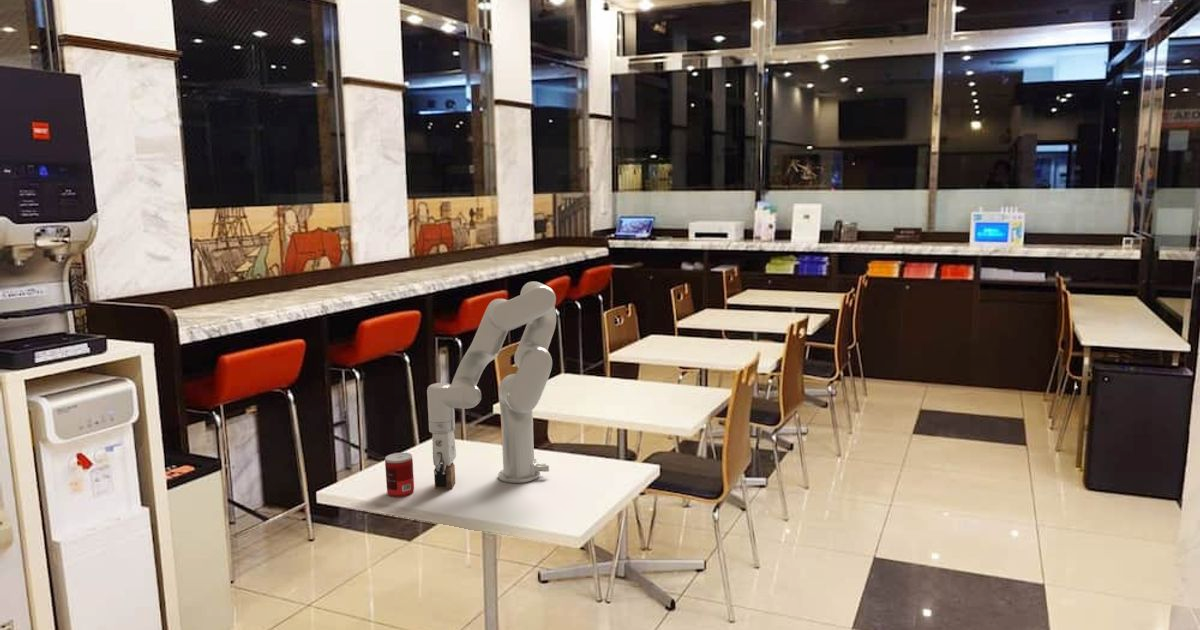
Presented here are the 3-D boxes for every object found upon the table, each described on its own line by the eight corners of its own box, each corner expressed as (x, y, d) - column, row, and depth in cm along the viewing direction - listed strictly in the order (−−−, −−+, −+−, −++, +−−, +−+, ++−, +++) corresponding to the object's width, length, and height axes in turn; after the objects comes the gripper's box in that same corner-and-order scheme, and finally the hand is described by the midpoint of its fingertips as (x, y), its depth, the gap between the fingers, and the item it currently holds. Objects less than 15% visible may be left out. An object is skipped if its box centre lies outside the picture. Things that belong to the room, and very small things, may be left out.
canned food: (417, 488, 254) (415, 452, 253) (409, 498, 246) (407, 461, 245) (392, 487, 255) (390, 452, 253) (383, 497, 247) (381, 460, 246)
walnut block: (455, 483, 258) (454, 464, 257) (451, 489, 253) (450, 469, 252) (438, 483, 258) (437, 464, 257) (435, 489, 253) (434, 470, 252)
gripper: (448, 433, 244) (451, 491, 246) (460, 417, 261) (463, 471, 263) (422, 434, 244) (425, 491, 247) (436, 417, 261) (439, 471, 264)
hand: (445, 481), depth 255 cm, fingers open, 9 cm apart
